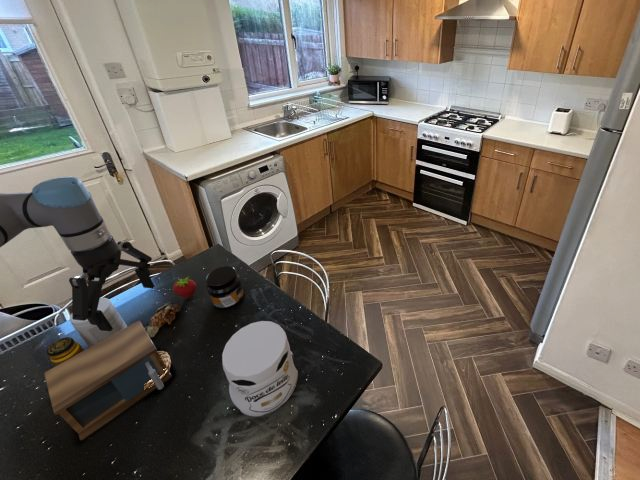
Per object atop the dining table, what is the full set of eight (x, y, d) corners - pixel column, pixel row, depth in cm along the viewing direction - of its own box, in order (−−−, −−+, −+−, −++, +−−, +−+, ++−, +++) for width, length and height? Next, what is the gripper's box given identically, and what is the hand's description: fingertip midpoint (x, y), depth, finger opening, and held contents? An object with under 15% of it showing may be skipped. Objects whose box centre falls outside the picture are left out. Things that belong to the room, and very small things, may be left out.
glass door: (125, 400, 82) (109, 377, 76) (165, 373, 88) (152, 350, 83) (132, 415, 79) (115, 392, 73) (172, 386, 85) (159, 363, 80)
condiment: (87, 380, 87) (65, 354, 81) (51, 387, 86) (27, 361, 80) (101, 356, 93) (82, 330, 88) (68, 362, 92) (47, 336, 86)
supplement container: (231, 314, 107) (222, 289, 101) (206, 307, 109) (196, 282, 103) (250, 292, 116) (244, 267, 110) (227, 285, 118) (219, 262, 112)
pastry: (138, 336, 99) (134, 329, 97) (165, 306, 110) (161, 299, 108) (159, 338, 99) (155, 331, 97) (184, 307, 109) (180, 300, 107)
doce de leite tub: (273, 433, 76) (259, 393, 67) (219, 406, 81) (199, 366, 73) (311, 368, 90) (304, 328, 82) (263, 349, 96) (251, 309, 87)
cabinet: (69, 401, 82) (44, 372, 76) (155, 348, 96) (139, 320, 89) (81, 441, 75) (53, 413, 68) (172, 377, 88) (156, 348, 82)
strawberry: (184, 290, 116) (176, 270, 111) (203, 292, 115) (196, 272, 111) (174, 303, 111) (164, 283, 106) (194, 304, 110) (185, 284, 105)
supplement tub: (136, 325, 103) (117, 294, 95) (121, 352, 95) (100, 320, 87) (102, 331, 101) (81, 299, 94) (85, 358, 93) (60, 326, 86)
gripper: (49, 284, 59) (99, 353, 70) (148, 213, 81) (175, 273, 91) (14, 281, 60) (69, 349, 70) (122, 211, 81) (152, 271, 92)
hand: (129, 306), depth 81 cm, fingers open, 13 cm apart
